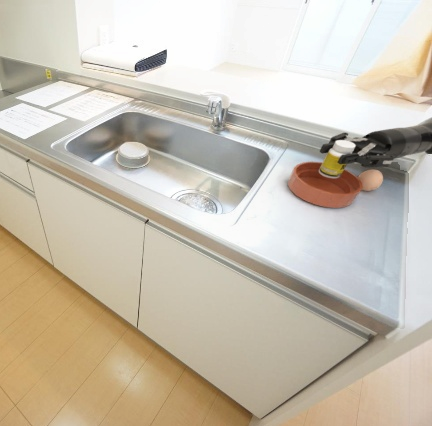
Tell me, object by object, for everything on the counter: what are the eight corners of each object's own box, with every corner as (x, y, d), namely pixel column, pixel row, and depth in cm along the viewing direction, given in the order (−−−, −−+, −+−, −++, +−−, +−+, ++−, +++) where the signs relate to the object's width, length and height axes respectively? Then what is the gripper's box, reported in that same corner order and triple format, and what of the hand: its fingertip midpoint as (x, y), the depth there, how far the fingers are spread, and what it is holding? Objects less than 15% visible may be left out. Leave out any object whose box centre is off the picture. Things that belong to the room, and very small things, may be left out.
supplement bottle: (338, 181, 69) (356, 150, 63) (316, 175, 71) (332, 145, 66) (340, 172, 72) (358, 142, 66) (319, 166, 74) (335, 137, 68)
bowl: (360, 190, 75) (369, 176, 72) (342, 217, 67) (352, 203, 64) (299, 169, 83) (306, 156, 80) (277, 191, 75) (284, 177, 72)
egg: (373, 186, 76) (387, 168, 72) (376, 196, 72) (390, 177, 69) (351, 181, 78) (363, 163, 74) (352, 191, 74) (365, 172, 70)
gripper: (371, 118, 72) (314, 127, 70) (430, 143, 62) (366, 154, 59) (355, 145, 77) (302, 154, 75) (408, 172, 67) (348, 183, 64)
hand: (331, 154), depth 67 cm, fingers closed on supplement bottle, 4 cm apart
